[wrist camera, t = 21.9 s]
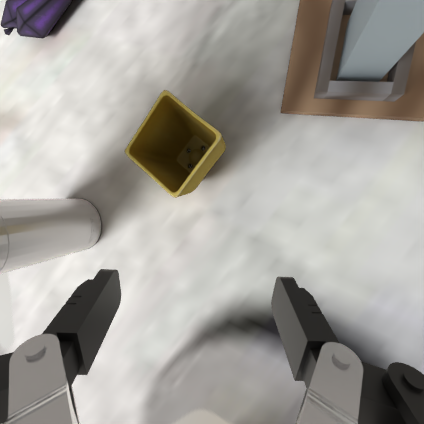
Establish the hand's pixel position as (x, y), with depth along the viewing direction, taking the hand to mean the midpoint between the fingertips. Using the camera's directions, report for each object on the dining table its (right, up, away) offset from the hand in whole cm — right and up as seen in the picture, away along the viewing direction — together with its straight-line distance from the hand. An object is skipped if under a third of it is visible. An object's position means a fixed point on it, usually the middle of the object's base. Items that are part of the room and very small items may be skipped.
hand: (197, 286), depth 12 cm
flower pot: (-1, +12, +22) cm, 26 cm away
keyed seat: (+19, +23, +16) cm, 33 cm away
